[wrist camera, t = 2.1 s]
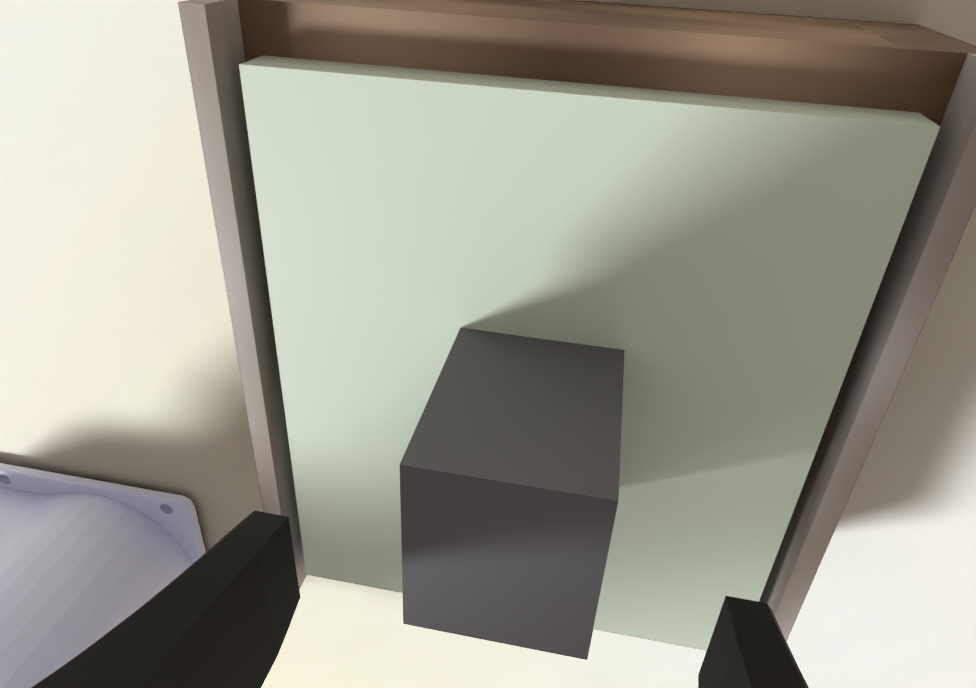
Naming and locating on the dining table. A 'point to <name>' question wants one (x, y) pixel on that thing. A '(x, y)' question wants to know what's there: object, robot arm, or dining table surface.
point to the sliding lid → (561, 333)
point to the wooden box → (626, 63)
